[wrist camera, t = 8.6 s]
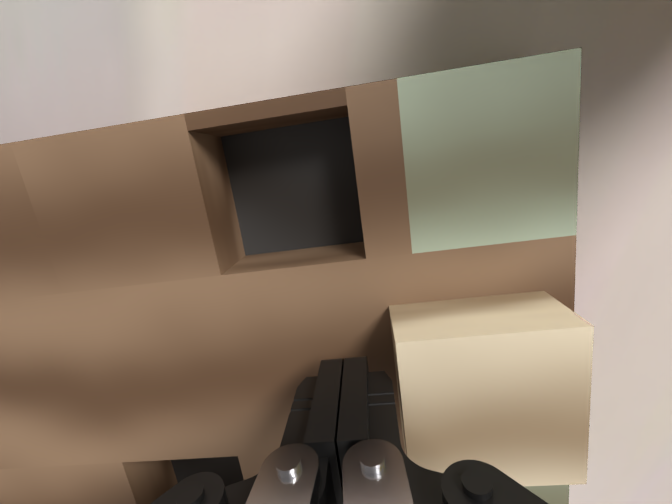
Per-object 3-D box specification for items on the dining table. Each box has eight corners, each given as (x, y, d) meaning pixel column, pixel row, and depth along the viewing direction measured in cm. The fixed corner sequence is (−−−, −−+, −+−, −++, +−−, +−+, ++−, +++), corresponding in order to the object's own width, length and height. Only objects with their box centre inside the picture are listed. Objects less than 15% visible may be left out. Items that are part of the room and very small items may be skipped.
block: (388, 305, 12) (395, 342, 9) (543, 290, 11) (593, 326, 9) (402, 429, 13) (410, 491, 11) (542, 421, 12) (586, 483, 10)
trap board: (-77, 172, 15) (-182, 175, 12) (530, 74, 12) (581, 47, 9) (60, 501, 19) (7, 561, 16) (531, 480, 17) (567, 548, 14)
